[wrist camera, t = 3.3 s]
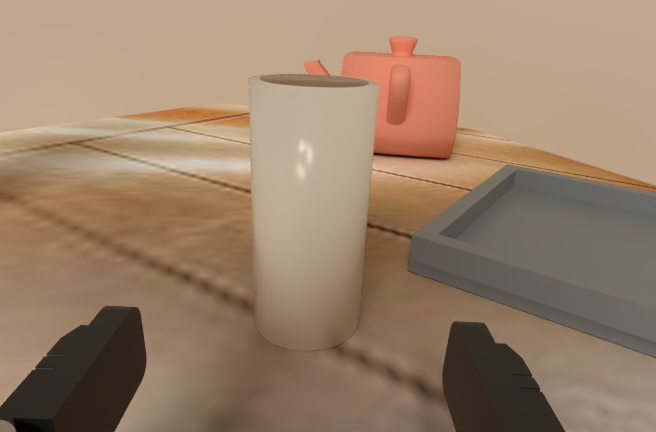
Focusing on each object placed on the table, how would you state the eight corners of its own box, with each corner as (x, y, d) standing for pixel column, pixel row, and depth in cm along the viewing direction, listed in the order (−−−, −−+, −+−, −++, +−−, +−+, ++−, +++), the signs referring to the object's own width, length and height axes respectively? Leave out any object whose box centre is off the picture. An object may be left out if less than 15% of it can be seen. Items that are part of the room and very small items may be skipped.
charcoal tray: (407, 270, 29) (412, 235, 28) (502, 188, 45) (507, 164, 44) (925, 452, 17) (964, 402, 16) (795, 252, 34) (810, 222, 33)
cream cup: (231, 321, 23) (220, 76, 18) (298, 278, 27) (303, 71, 22) (317, 367, 20) (330, 91, 15) (377, 312, 24) (401, 82, 20)
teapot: (442, 134, 69) (456, 39, 64) (458, 175, 49) (480, 40, 44) (317, 125, 72) (320, 32, 67) (283, 160, 52) (284, 31, 46)
